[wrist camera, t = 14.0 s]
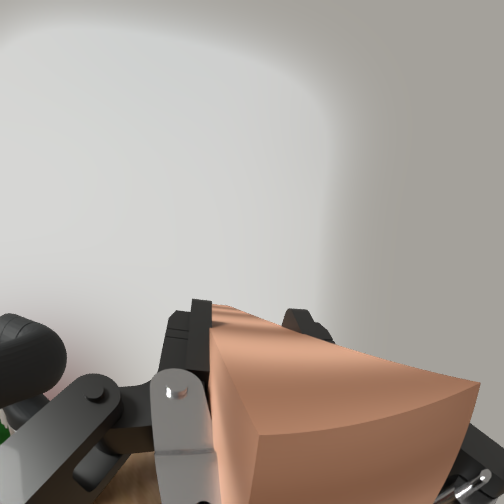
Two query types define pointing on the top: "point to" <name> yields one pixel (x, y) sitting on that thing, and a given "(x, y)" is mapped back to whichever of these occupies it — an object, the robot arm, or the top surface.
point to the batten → (326, 419)
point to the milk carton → (3, 427)
